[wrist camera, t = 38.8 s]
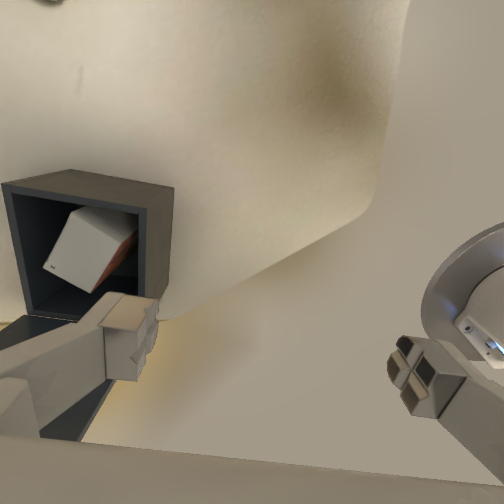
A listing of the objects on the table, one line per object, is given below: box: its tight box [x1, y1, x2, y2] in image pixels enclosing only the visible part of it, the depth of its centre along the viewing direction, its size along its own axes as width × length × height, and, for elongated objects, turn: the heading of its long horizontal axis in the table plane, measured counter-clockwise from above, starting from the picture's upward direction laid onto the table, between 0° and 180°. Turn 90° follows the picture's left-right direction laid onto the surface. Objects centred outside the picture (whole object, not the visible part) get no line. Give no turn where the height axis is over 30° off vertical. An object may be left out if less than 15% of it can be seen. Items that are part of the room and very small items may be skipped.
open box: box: [1, 169, 174, 321], centre depth 33 cm, size 16×14×11 cm
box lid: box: [0, 315, 116, 442], centre depth 24 cm, size 16×14×5 cm
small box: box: [43, 206, 139, 293], centre depth 32 cm, size 8×6×10 cm
